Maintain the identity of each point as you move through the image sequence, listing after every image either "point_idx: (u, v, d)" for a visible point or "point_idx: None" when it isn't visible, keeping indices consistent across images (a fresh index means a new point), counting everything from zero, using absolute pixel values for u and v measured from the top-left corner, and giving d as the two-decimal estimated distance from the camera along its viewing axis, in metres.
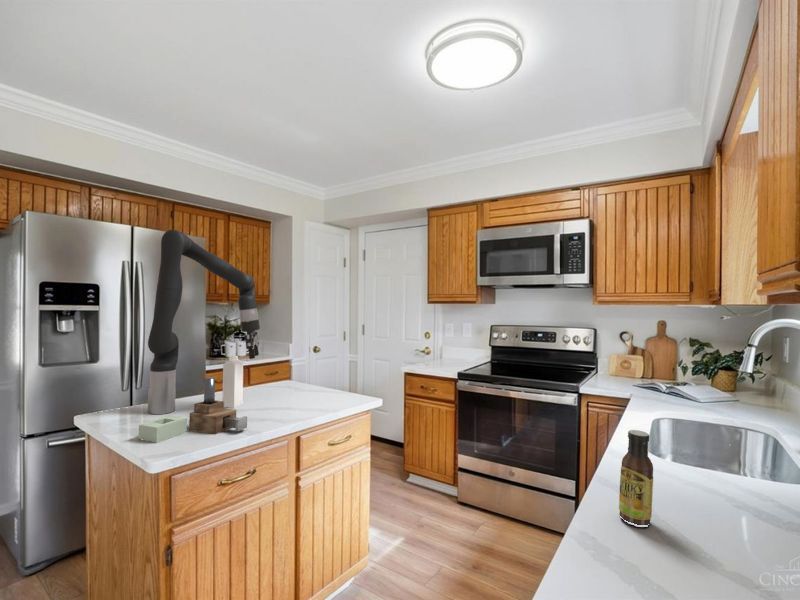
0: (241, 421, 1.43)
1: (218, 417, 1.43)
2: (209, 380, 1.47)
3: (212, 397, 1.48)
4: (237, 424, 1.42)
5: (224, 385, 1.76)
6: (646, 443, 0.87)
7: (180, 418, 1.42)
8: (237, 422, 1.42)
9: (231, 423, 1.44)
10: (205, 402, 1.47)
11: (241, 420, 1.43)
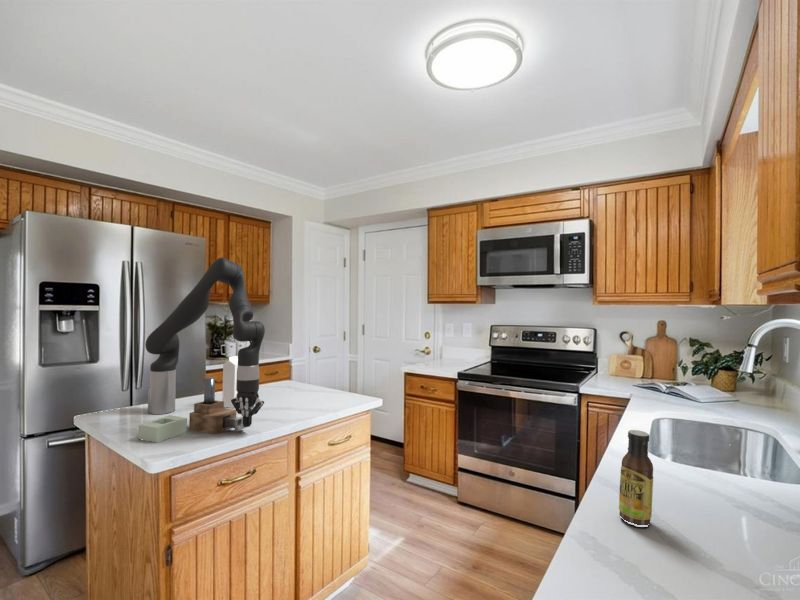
0: (240, 421, 1.44)
1: (218, 417, 1.43)
2: (209, 380, 1.47)
3: (212, 397, 1.48)
4: (236, 424, 1.42)
5: (224, 385, 1.76)
6: (646, 443, 0.87)
7: (180, 418, 1.42)
8: (236, 422, 1.42)
9: (230, 423, 1.44)
10: (205, 402, 1.47)
11: (240, 420, 1.44)
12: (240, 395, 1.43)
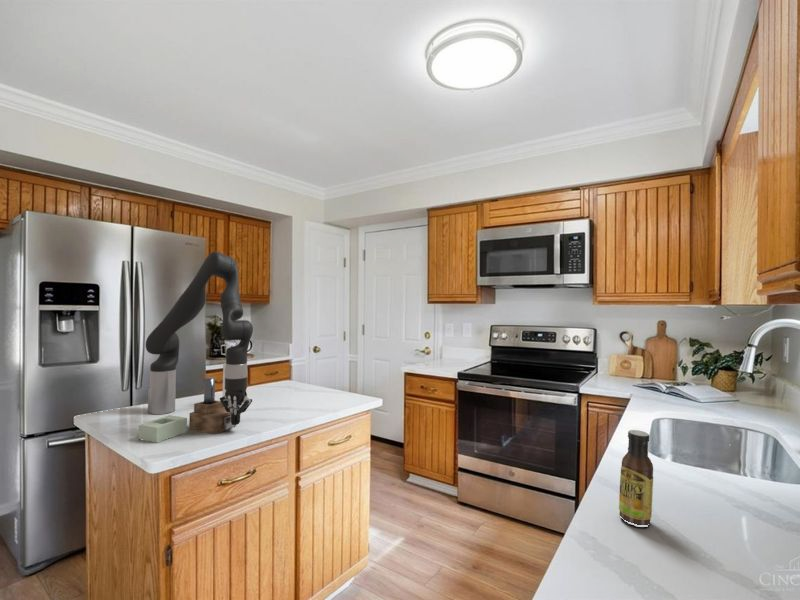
0: (229, 419, 1.45)
1: (218, 417, 1.43)
2: (209, 380, 1.47)
3: (212, 397, 1.48)
4: (225, 422, 1.44)
5: (224, 385, 1.76)
6: (646, 443, 0.87)
7: (180, 418, 1.42)
8: (225, 420, 1.44)
9: None
10: (205, 402, 1.47)
11: (229, 418, 1.45)
12: (228, 393, 1.45)
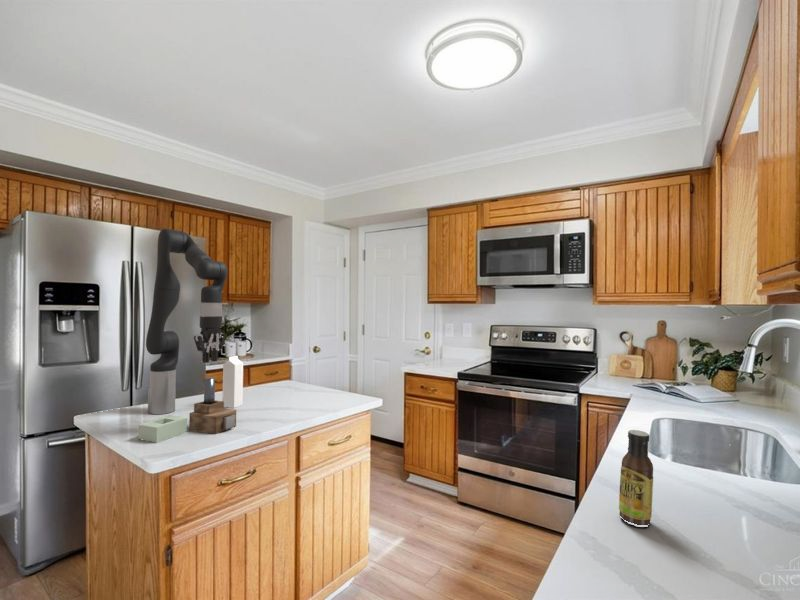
0: (229, 419, 1.45)
1: (218, 417, 1.43)
2: (209, 380, 1.47)
3: (212, 397, 1.48)
4: (225, 422, 1.44)
5: (224, 385, 1.76)
6: (646, 443, 0.87)
7: (180, 418, 1.42)
8: (225, 420, 1.44)
9: None
10: (205, 402, 1.47)
11: (229, 418, 1.45)
12: (208, 332, 1.47)
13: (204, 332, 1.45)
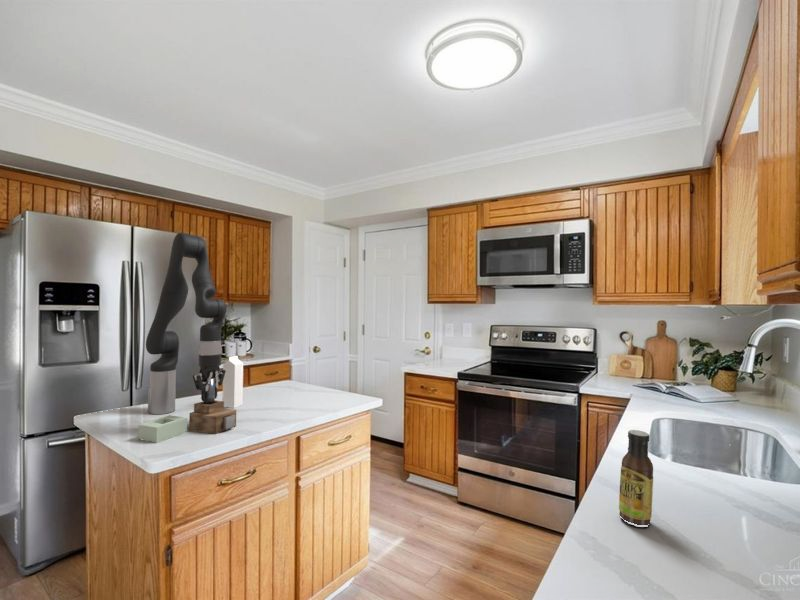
0: (229, 419, 1.45)
1: (218, 417, 1.43)
2: None
3: (212, 397, 1.48)
4: (225, 422, 1.44)
5: (224, 385, 1.76)
6: (646, 443, 0.87)
7: (180, 418, 1.42)
8: (225, 420, 1.44)
9: None
10: (205, 402, 1.47)
11: (229, 418, 1.45)
12: (207, 371, 1.47)
13: (203, 371, 1.45)
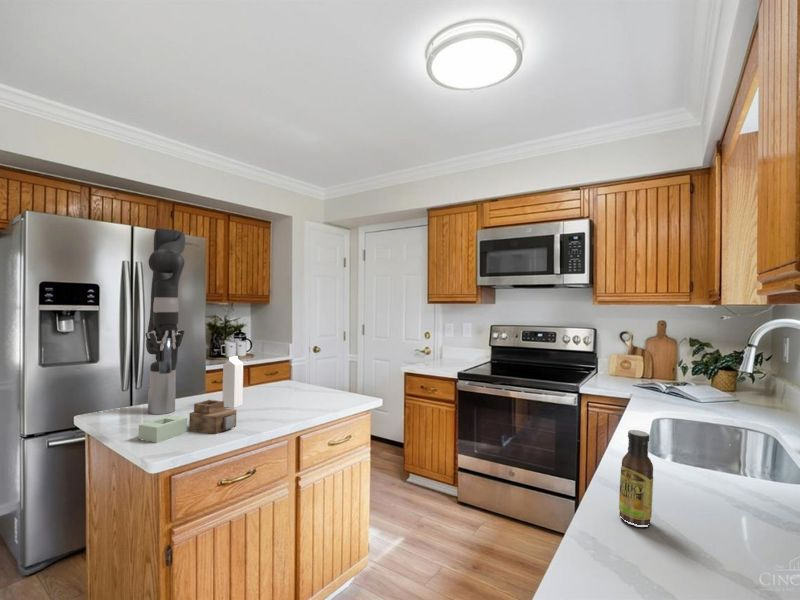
0: (229, 419, 1.45)
1: (218, 417, 1.43)
2: None
3: (168, 358, 1.38)
4: (225, 422, 1.44)
5: (224, 385, 1.76)
6: (646, 443, 0.87)
7: (180, 418, 1.42)
8: (225, 420, 1.44)
9: None
10: (160, 363, 1.37)
11: (229, 418, 1.45)
12: (162, 329, 1.37)
13: (157, 329, 1.35)
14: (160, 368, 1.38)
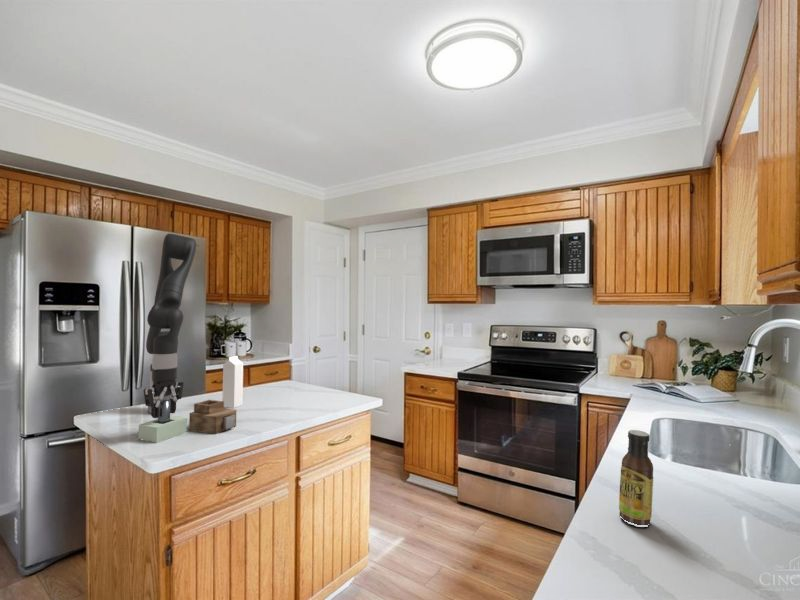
0: (229, 419, 1.45)
1: (218, 417, 1.43)
2: (164, 403, 1.37)
3: (167, 421, 1.38)
4: (225, 422, 1.44)
5: (224, 385, 1.76)
6: (646, 443, 0.87)
7: (180, 418, 1.42)
8: (225, 420, 1.44)
9: None
10: None
11: (229, 418, 1.45)
12: (161, 386, 1.37)
13: (156, 386, 1.35)
14: None
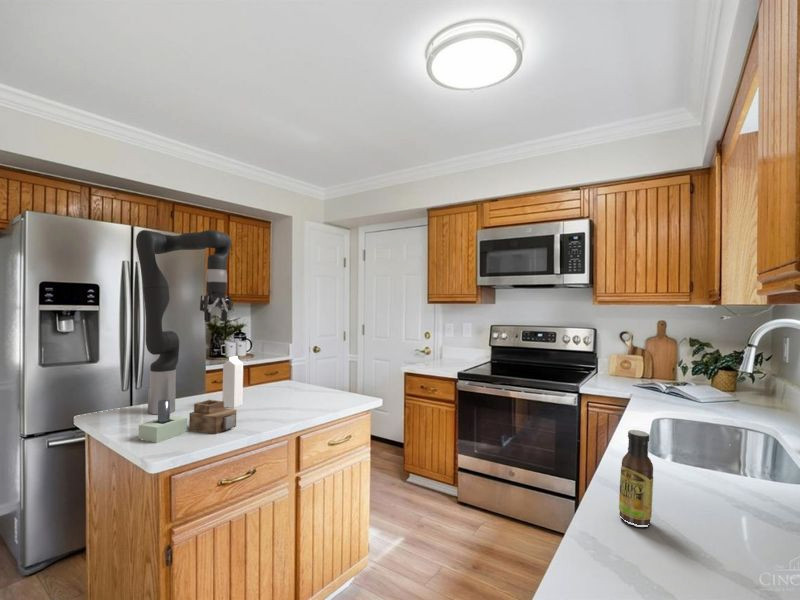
0: (229, 419, 1.45)
1: (218, 417, 1.43)
2: (163, 403, 1.37)
3: (166, 421, 1.38)
4: (225, 422, 1.44)
5: (224, 385, 1.76)
6: (646, 443, 0.87)
7: (180, 418, 1.42)
8: (225, 420, 1.44)
9: None
10: None
11: (229, 418, 1.45)
12: (214, 296, 1.60)
13: (210, 296, 1.58)
14: None
